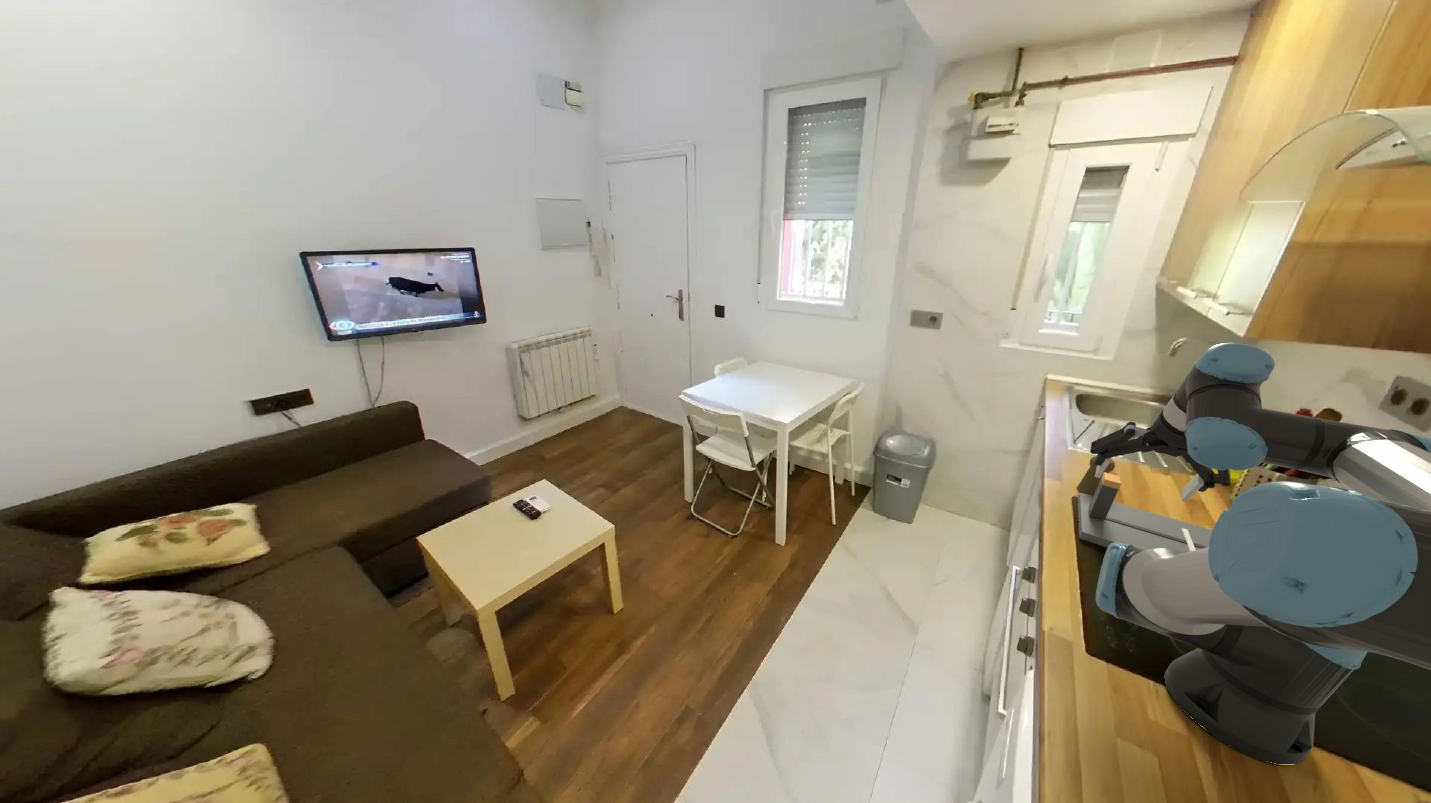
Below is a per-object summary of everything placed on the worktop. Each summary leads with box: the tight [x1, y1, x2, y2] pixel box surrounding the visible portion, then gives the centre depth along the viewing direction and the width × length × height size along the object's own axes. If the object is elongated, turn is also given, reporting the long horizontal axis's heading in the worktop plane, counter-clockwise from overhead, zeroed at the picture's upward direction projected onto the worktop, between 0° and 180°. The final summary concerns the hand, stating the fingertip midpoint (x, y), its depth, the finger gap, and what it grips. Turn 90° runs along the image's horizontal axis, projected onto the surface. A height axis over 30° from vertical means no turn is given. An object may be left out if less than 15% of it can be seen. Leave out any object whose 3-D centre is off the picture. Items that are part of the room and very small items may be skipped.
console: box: [1077, 492, 1213, 552], centre depth 106 cm, size 20×26×2 cm
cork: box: [1076, 455, 1116, 496], centre depth 121 cm, size 6×6×11 cm
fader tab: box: [1089, 472, 1122, 520], centre depth 108 cm, size 4×3×11 cm
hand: (1139, 483), depth 92 cm, fingers open, 13 cm apart
